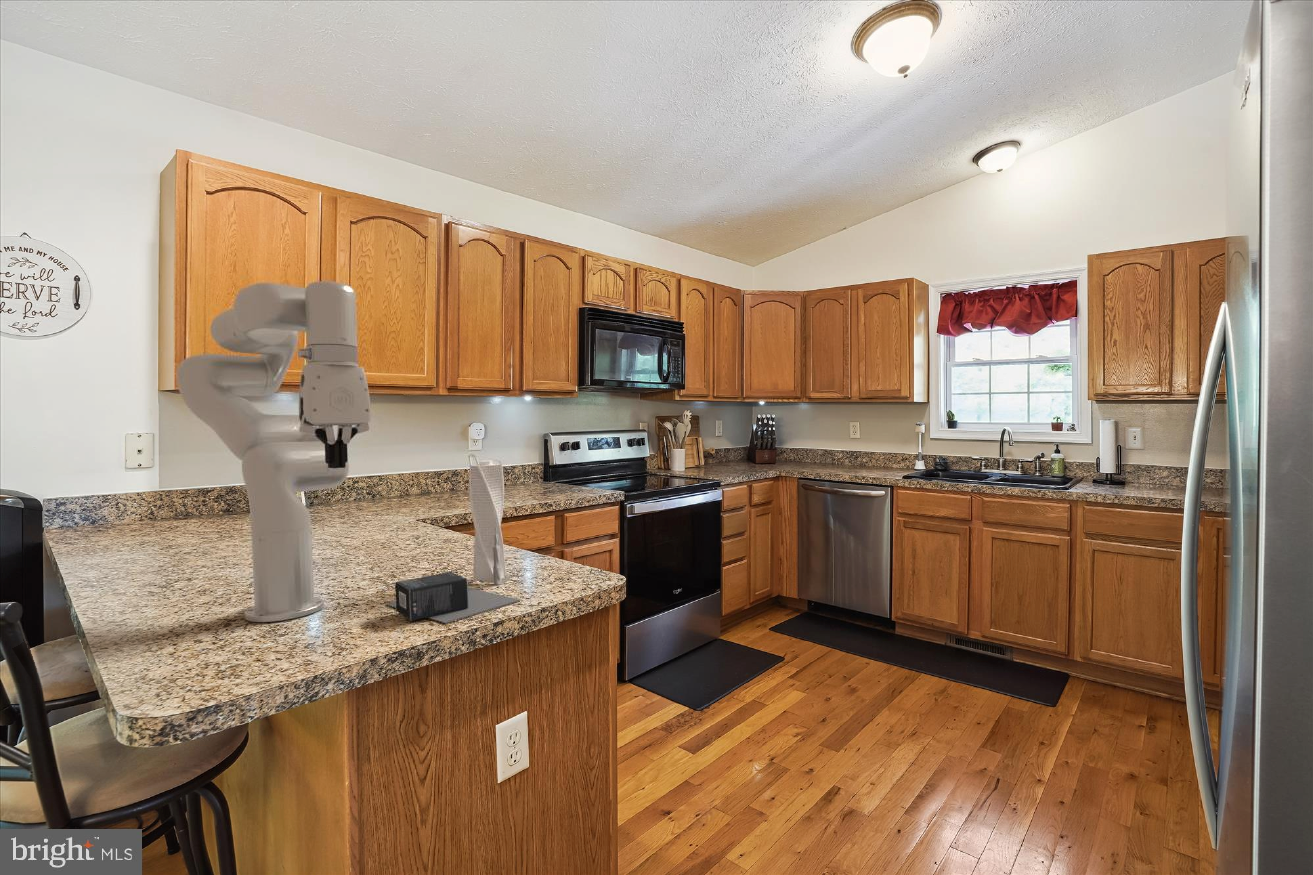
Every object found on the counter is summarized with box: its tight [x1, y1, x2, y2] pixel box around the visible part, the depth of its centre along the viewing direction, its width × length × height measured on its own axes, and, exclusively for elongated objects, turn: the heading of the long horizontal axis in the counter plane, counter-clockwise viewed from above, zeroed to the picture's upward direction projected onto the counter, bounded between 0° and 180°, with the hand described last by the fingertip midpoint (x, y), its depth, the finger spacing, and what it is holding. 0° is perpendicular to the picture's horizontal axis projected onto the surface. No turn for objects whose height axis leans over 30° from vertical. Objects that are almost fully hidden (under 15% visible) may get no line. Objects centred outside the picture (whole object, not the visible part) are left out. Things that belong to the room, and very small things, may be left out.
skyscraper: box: [468, 453, 514, 586], centre depth 134 cm, size 8×8×28 cm
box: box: [394, 571, 469, 622], centre depth 112 cm, size 8×6×11 cm
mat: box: [386, 586, 521, 625], centre depth 117 cm, size 20×16×1 cm
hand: (336, 467), depth 103 cm, fingers closed
